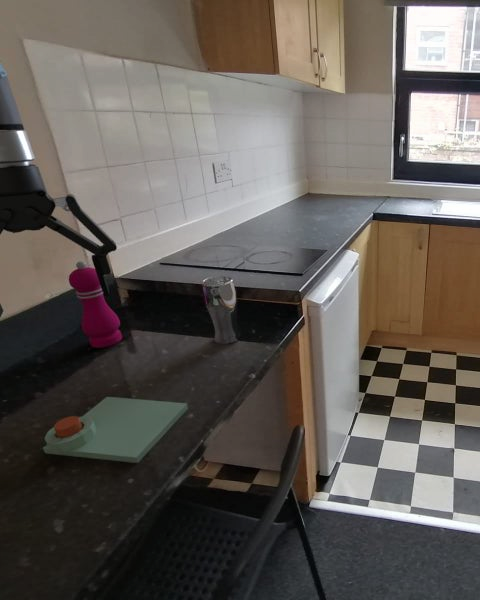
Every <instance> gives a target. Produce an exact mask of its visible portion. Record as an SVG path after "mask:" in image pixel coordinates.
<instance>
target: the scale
mask: <svg viewBox="0 0 480 600" xmlns="http://www.w3.org/2000/svg"><path fill="white" fill-rule="evenodd" d="M188 410H189V406H188V403H184V402H174V401H161V400H152V399H151V400H150V399H138V398H128V397H117V396H116V397H114V396H106V397H105V398H104V399H102V400H101V401H100V402H99V403H97V404H96V405H95V406H93V407H92V408H91V409H90V410H89V411H87V412H86V413H84V414H83V415H82V416H78V417H79V419H80V422H81V424H82V430H80V431H79V432H78V433H76V434H74V435H72V436H70V437H65V438H59V437H58V436H57V434H56V431H55V429H54V426H53V427H52V428H51V429H49V430H48V431H47V433H46V435H45V436H44V441H45V443H46V445H44V446H43V447H42V449H43V452H44V453H45V454H48V455H58V456H65V457H66V456H69V457H78V458H85V459H86V458H87V459H95V460H106V461H115V462H124V463H132V464H133V463H134V464H139V462H141V460H142V459H143V458H144V457H146V455H147V454H148V453H149V452H150V451H151V450H152V448H153V447H154V446H155V445H156V444H157V443H158V442H159V441H160V440H161V438H163V436H165V434H166V433H167V432H168V431H169V430H170V429H171V428H172V427H174V425H175V423H176V422H178V420H179V419H180V418H181V417H182V416H183V415H184V414H185V413H186V412H187V411H188Z"/></svg>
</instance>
